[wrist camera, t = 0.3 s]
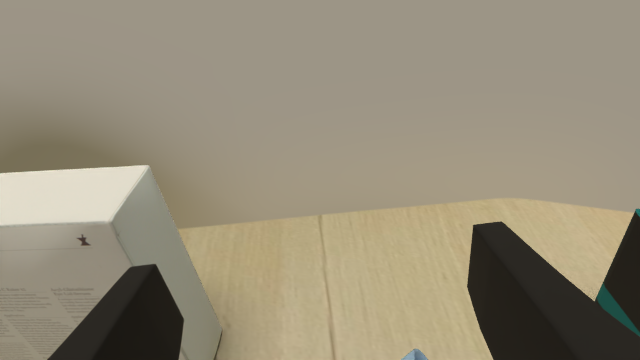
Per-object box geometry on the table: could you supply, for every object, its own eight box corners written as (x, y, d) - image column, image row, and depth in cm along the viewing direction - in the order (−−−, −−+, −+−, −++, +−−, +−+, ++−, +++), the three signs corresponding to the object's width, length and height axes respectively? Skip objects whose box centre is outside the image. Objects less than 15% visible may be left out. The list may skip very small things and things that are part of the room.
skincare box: (226, 322, 34) (153, 161, 24) (206, 392, 30) (107, 231, 20) (-7, 320, 37) (-158, 176, 27) (-56, 383, 33) (-255, 240, 23)
